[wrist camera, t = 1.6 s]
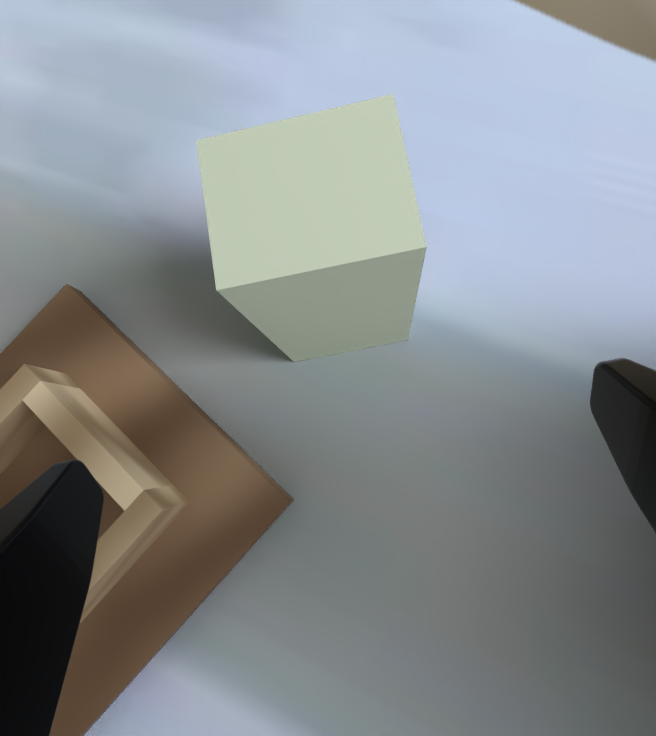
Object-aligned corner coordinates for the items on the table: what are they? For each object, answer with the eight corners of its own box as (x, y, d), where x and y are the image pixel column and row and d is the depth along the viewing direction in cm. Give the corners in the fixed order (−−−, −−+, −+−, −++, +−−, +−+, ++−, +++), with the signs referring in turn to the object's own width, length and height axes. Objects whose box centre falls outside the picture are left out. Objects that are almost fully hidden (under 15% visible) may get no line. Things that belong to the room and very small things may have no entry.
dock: (293, 499, 20) (275, 509, 17) (62, 759, 20) (-7, 824, 16) (80, 290, 23) (26, 263, 20) (-130, 514, 23) (-223, 526, 19)
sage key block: (407, 340, 21) (426, 247, 11) (294, 362, 21) (216, 290, 12) (390, 253, 22) (393, 94, 12) (280, 276, 22) (196, 140, 12)
